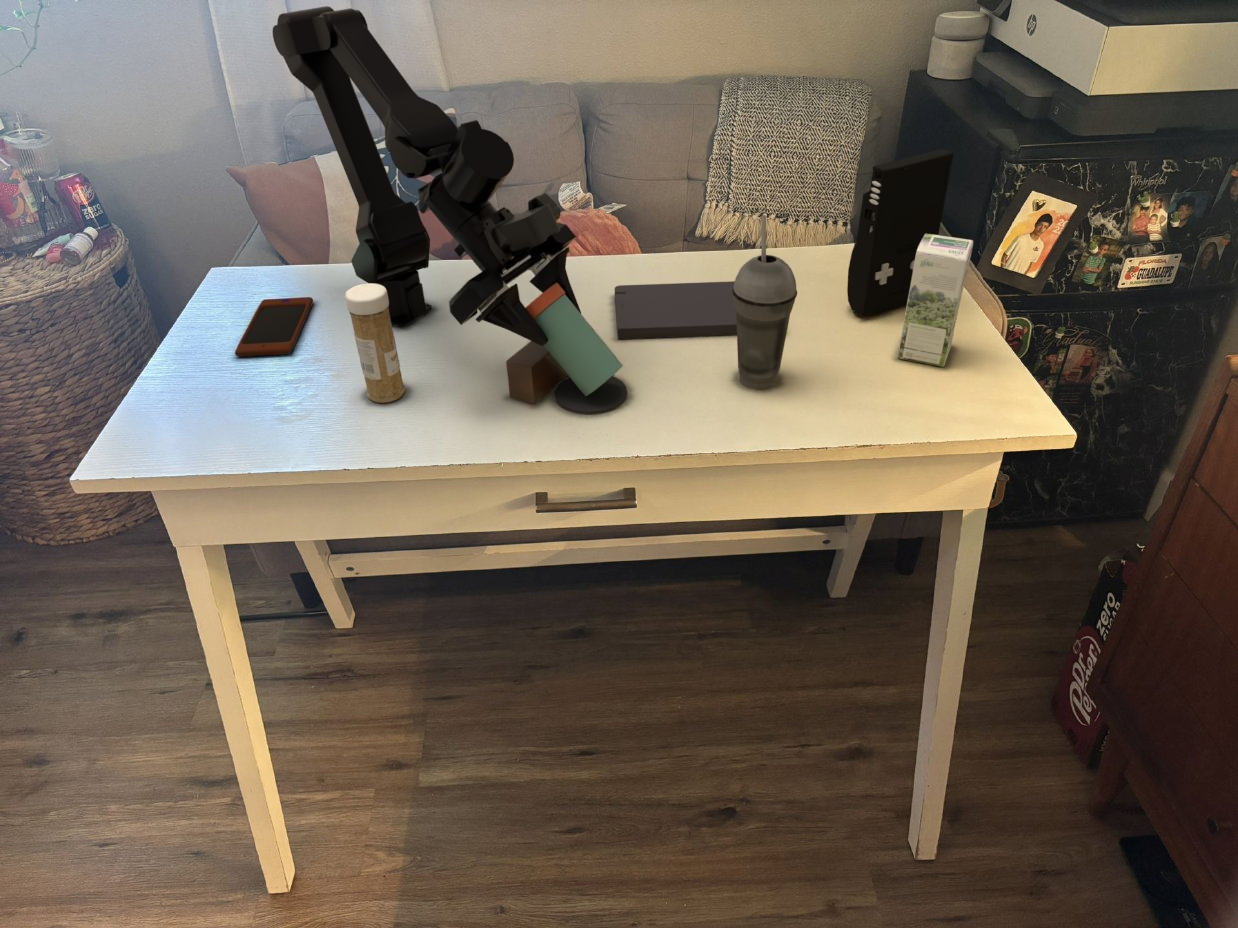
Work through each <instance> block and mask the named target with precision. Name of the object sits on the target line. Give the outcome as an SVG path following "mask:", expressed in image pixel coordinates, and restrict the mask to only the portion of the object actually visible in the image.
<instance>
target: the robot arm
mask: <svg viewBox="0 0 1238 928" xmlns="http://www.w3.org/2000/svg"><path fill="white" fill-rule="evenodd" d="M272 38H273V43H274V46H275V49H276V50H277V52H278V53H279V55H281V57H282V58H283V59H284V62H285V64H286V66H287V68H288V70H289V72H290V74H291V75H292V76H293V77H294V78H295V79H296V80H297V81H299V82H300V83H301V84H302V85H304V86H305V87H306V88H307V89H308V90H309V91H311V93H312V95H313V96H314V98H315V101H316V103H317V106H318V109H319V111H320V113H321V115H322V118H323V120H324V123H325V126H326V128H327V130H328V133H329V135H330V138H331V140H332V143H333V146H334V148H335V150H336V152H337V155H338V158H339V160H340V163H341V165H342V168H343V170H344V173H345V174H346V177H347V180H348V182H349V185H350V187H351V190H352V192H353V195H354V197H355V200H356V202H357V206H358V212H357V219H356V225H355V234H356V237H357V241H358V246H357V248H356V250H355V252H354V254H353V256H352V258H351V264H352V268H353V271H354V273H355V276H356V277H357V278H359V279H360V280H362V281H364V282H365V283H366V284H368V283H373V284H379V285H382V286H384V287H385V288H386V290H387V294H388V299H389V305H388V306H389V308H388V309H389V315H390V320H391V325H392V326H396V327H398V328H406V327H407V326H409V325H410V324H411V323H413V322H414V321H416V320H417V319H419V318H420V317H422V316H423V315H425V314H427V313H428V312H429V311H431V310H433V306H432V304H430V303H426V300H425V294H424V293H425V292H424V287H423V283H422V282H421V280H420V274H419V273H420V272H419V271H420V270H423V269H428V268H429V265H430V264H429V263H430V253H431V251H430V250H431V238H430V235H429V232H428V230H427V229H426V228H427V227H425V225H424V223H423V221H422V219H421V216H420V214H423V215H424V214H426V213H427V212H429V211H431V212H432V213H433V215H434V216H435V217H436V218H437V220H438V221H439V222H440V223H441V224H442V226H443V227H444V228H445V230H447V231H448V233H449V234H450V236H451V237H452V238H453V239H454V240H455V241H456V242H457V244H458V245H457V246H456V247H455V248H454V249H453V251H454V252H455V254H457V256H458V257H459V258H460V257H462V256H464V255H465V254H466V255H468V257H469V258H470V259H471V261H472V262H473V263H474V264H475V265H476V266H477V268H478V269H479V270H480V271H481V272H479V273H477V274H476V275H474V276H473V277H472V278H470V279H468V280H467V282H465V283H464V284H463V286H461V288H460V289H459V290H458V291H457V292H456V293H455V294H454V295H453V296H452V297H451V298H450V299H449V300H448V307H449V312H450V315H452V316H453V318H454V319H455V320H456V322H457V323H458V324H459V325H460V326H462V325H463V324H465V323H466V322H468V321H469V320H471V319H472V318H474V317H475V316H476V315H478V312H480V314H479V315H478V316H477V317H476V318H475V321H476V322H477V323H481V322H483V321H484V322H486V323H489V324H492V325H494V326H497V327H499V328H502V329H504V330H507V331H509V332H511V333H513V334H516V335H518V336H520V337H522V338H524V339H526V340H528V341H529V342H531V341H532V342H534V343H536V344H539V345H541V346H543V345H545V344H546V343H547V342H548V338H547V337H546V335H545V334H544V332H543V330H542V329H541V328H540V326H539V325H538V324H537V322H536V321H535V320H534V318H533V317H532V316H531V314H530V313H529V312H528V311H527V309H526V306H525V305H524V304H523V303H522V301H521V299H520V293H519V285H518V283H517V282H516V283H515V284H513V285H511V286H508V285H509V284H510V283H511V282H513V281H515V280H516V279H517V278H519V277H520V276H522V275H523V274H525V273H526V272H528V271H530V272H531V273H532V274H533V275H534V276H533V277H531V279H530V280H529V284H531V285H532V286H534V288H536V289H537V290H538V291H539V292H540V293H541V294H542V293H543V292H545V291H546V290H547V289H549V288H550V287H551V286H553V285H554V284H556V283H558V284H559V285H560V287H561V288H562V289H563V290H564V292H565V295H566V296H567V297H568V299H569V300H570V301H571V302H572V304H573V305H574V306H575V307H576V308H577V310H578V311H579V312H580V313H581V314H582V310H581V308H580V305H579V303H578V300H577V298H576V295H575V292H574V290H573V288H572V287H573V286H572V285H571V282H570V279H569V276H568V272H567V268H566V266H567V256H568V254H569V253H570V251H571V250H570V247H569V245H570V244H572V242H573V241H575V239H577V236H576V235H575V233H574V232H573V231H572V230H571V228H570V227H569V226H568V225H567V224H566V223H562V222H558V220H560V218H561V213H562V210H561V208H560V207H559V206H558V205H557V203H556V202H555V200H553V199H552V197H550V196H549V195H548V194H547V193H546V192H544V193H541V194H538V195H536V196H534V197H533V198H531V199H529V200H528V202H527V209H526V210H525V211H522V213H519V214H516V215H514V214H513V213H512V211H511V210H510V209H509V208H507V207H505V206H503V207H501V208H499V209H496V206H494V204H492V202H491V199H492V197H493V196H494V195H495V193H496V192H497V190H498V189H499V188H500V186H501V185H502V184H503V182H504V181H505V180H506V178H507V177H508V175H509V174H511V171H512V170H513V167H514V165H515V164H514V163H515V157H514V153H513V150H512V147H511V145H510V144H509V142H508V141H506V140H505V139H504V138H502V137H501V136H500V135H499V134H497V133H496V132H494V131H492V130H488V129H485V128H482V126H481V124H480V122H479V121H478V120H477V119H474V120H470V121H467V122H463V123H461V124H460V125H459V126H458V125H457V124H456V123H455V121H454V120H452V118H451V117H450V116H449V115H448V114H447V113H446V112H445V111H444V110H443V109H442V108H441V107H440V106H439V105H438V104H436V103H434V102H432V101H430V100H427V99H425V98H423V97H421V96H419V95H418V94H417V93H416V92H415V90H413V88H412V87H411V86H410V84H409V83H408V81H407V80H406V79H405V77H404V76H403V74H402V73H401V72H400V70H399V69H398V68H397V66H396V65H395V64H394V62H393V61H392V59H391V58H390V57H389V55H388V54H387V53H386V51H385V50H384V49H383V47H382V46H381V45H380V43H379V42H378V41H377V39H376V38H375V36H374V35H373V34H372V32H371V31H370V29H369V26H368V23H367V20H366V17H365V16H364V14H363V13H362V12H361V10H359V9H354V8H352V7H351V8H344V9H339V10H334V8H332V7H331V6H328V5H325V6H319V7H314V8H308V9H301V10H296V11H295V10H294V11H288V12H282V13H280V14H279V15H278V17H277V23H276V24H275V25H273V27H272ZM353 84H354V85H355V87H356V88H357V90H358V91H359V92H360V94H361V95H362V96H363V98H364V100H365V101H366V102H367V103H368V105H369V107H370V108H371V110H372V111H373V112H374V113H375V115H376V116H377V117H378V119H379V120H380V122H381V124H382V125H383V127H384V146H385V148H386V150H387V151H388V153H389V155H390V159H391V161H392V162H393V165H394V166H395V168H396V169H397V170H398V171H399V172H400V173H401V174H402V175H403V176H404V177H406V178H407V179H416V180H417V179H419V178H423V177H426V176H430V175H434V174H437V173H439V174H437V175H436V176H435V177H433V179H432V180H431V181H429V182H427V183H425V185H422V186H421V187H419V188H418V190H417V191H418V192H417V193H418V196H419V200H418V207H417V205H416V204H415V203H414V202H413V201H408V202H406V201H405V200H404V199H402V197H400V196H399V195H398V194H397V193H396V192H395V190H394V187H393V184H392V182H391V180H390V177H389V175H388V172H387V169H386V167H385V165H384V162H383V159H382V156H381V154H380V151H379V149H378V146H377V144H376V141H375V139H374V136H373V133H372V132H371V129H370V126H369V124H368V121H367V119H366V116H365V113H364V110H363V108H362V106H361V103H360V100H359V97H358V95H357V94H356V90H355V88H354V86H353ZM418 208H419V209H418ZM419 212H420V213H419Z"/></svg>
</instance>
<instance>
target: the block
mask: <svg viewBox="0 0 1238 928" xmlns="http://www.w3.org/2000/svg"><path fill="white" fill-rule="evenodd" d="M505 365H506V366H505V367H506V374H507V382H508V383H507V384H508V394H509V398H510V399H513V400H517V401H519V402H523V403H526V404H530V405H536V404H537V403H538V402H540V401H541V400H542V399H543V398H544V397H545V396H546V395H547V394H549V393H550V392H551V391H552V390H553V389H555V388H556V387H557V385H558V384H559V383H560V382H562V381H563V380H565V379H566V378H568V377H569V376H568V374H567V373H566V372H565V371H564V370H563V368H562V367H561V366H560V365H559V364H558V362H557V361H556V360H555V359H554V357H553V356H552V355H551V354H550V353H549V351H548V350H547V349H546V348H545V347H544V345H543V346H541V345H539V344H536V343H534V342H532V341H529V342H528V343H527V344H526V345H523V347H522V348H520V349H519V350H517V351H516V352H515V353H514V354H512V356H510V357H509V358H507V360H505Z"/></svg>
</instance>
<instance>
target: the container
mask: <svg viewBox="0 0 1238 928" xmlns="http://www.w3.org/2000/svg"><path fill="white" fill-rule="evenodd" d="M525 308H526V309H527V311H528V312H529V313H530V314H531V316H532V317H533V318H534V320H535V321H536V322H537V324H538V325H539V326H540V328H541V329H542V330H543V332H544V334H545V335H546V337H547V338H548V342H547V343H546V344H545V345H544V347H545V348H546V349H547V350H548V351H549V353H550V354H551V355H552V356H553V357H554V359H555V360H556V361H557V362H558V364H559V365H560V366H561V367H562V368H563V370H564V371H565V372H566V373H567V374H568V376H567V377H568V378H569V377H570V378H571V379H572V380H573V382H574V383H575V384H576V385H577V386H578V388H579V389H580V390H581V391H582V393H583V394H584V395H585V396H587V395H589V394H590V393H592V392H593V391H595V390H596V389H597V388H598V387H600V386H601V385H602V384H603V383H605V382H606V381H607V380H608V379H609V378H611V377H612V376H615V374H616V373H618V371H620V370H621V369H622V367H623V364H622V362H621V361H620V359H618V357H617V356H616V355H615V354H614V353H613V351H612V350H611V349H610V348H609V346H608V345H607V344H606V342H605V341H604V340H603V339H602V337H601V336H599V334H598V333H597V331H596V330H595V329H594V328H593V327H592V325H591V324H590V323H589V322H588V320H587V319H586V318H585V317H584V316H583V314H582V312H581V313H580V312H579V311H578V310H577V308H576V307H575V306H574V305H573V304H572V302H571V301H570V300H569V299H568V297H567V296H566V295H565V292H564V290H563V289H562V288H561V287H560V285H559V284H558V283H556V284H554V285H553V286H551V287H550V288H549V289H547V290H546V291H545V292H543V293H542V292H541V294H539V296H537V297H536V298H535V299H534V300H533V301H531V302H530V303H529V304H528V305H527V306H525Z"/></svg>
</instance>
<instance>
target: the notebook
mask: <svg viewBox="0 0 1238 928" xmlns="http://www.w3.org/2000/svg"><path fill="white" fill-rule="evenodd" d="M734 282H735V280H734V281H733V280H732V281H731V280H730V281H706V282H704V281H703V282H679V283H678V282H677V283H652V284H651V283H650V284H648V283H647V284H623V285H621V284H619V285H616V286H615V287H614V306H615V320H616V331H617V332H616V333H617V340H628V339H629V340H630V339H654V338H655V339H659V338H660V339H661V338H683V337H712V336H713V337H714V336H737V321H736V308H735V303H734V295H733V292H732V289H733V287H734Z"/></svg>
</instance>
